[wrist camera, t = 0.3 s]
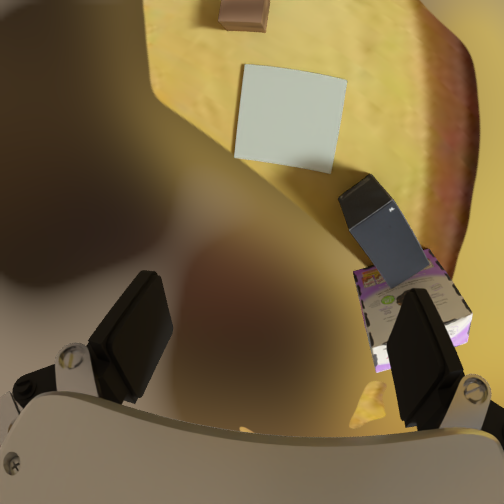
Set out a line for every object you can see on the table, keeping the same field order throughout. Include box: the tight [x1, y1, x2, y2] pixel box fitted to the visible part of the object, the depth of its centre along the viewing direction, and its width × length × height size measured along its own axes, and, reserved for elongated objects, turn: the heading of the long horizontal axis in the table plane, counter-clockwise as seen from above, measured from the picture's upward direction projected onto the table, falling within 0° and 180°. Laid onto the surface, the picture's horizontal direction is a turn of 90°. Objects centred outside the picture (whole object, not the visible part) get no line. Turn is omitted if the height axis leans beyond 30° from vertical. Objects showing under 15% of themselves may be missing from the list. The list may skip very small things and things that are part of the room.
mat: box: [234, 64, 347, 174], centre depth 33 cm, size 13×13×1 cm
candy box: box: [353, 249, 473, 373], centre depth 35 cm, size 14×6×16 cm, turn 112°
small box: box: [338, 174, 430, 289], centre depth 33 cm, size 11×6×10 cm, turn 43°
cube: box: [218, 0, 270, 33], centre depth 25 cm, size 5×5×5 cm
